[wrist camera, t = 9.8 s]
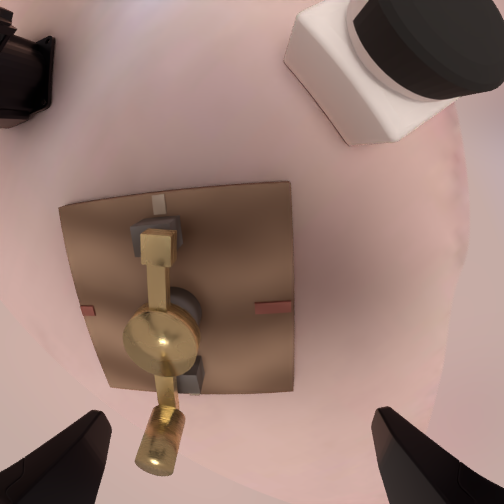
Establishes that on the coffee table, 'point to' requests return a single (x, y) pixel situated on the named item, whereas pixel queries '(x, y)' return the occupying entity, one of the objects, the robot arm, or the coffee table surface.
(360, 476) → the coffee table surface
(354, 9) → the medicine bottle
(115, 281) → the post base
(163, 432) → the crank handle
